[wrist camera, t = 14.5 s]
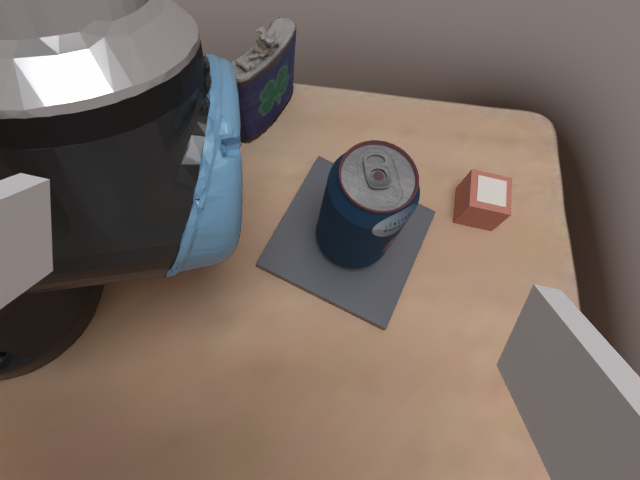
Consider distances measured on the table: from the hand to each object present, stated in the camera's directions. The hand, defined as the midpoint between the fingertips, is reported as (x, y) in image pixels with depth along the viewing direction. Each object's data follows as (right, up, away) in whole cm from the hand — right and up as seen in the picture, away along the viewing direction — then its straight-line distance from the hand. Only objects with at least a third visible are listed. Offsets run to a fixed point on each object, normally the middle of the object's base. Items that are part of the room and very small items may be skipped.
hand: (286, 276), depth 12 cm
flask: (-5, +15, +35) cm, 38 cm away
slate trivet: (+4, +1, +31) cm, 31 cm away
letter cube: (+17, +4, +33) cm, 38 cm away
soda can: (+4, +1, +30) cm, 30 cm away
